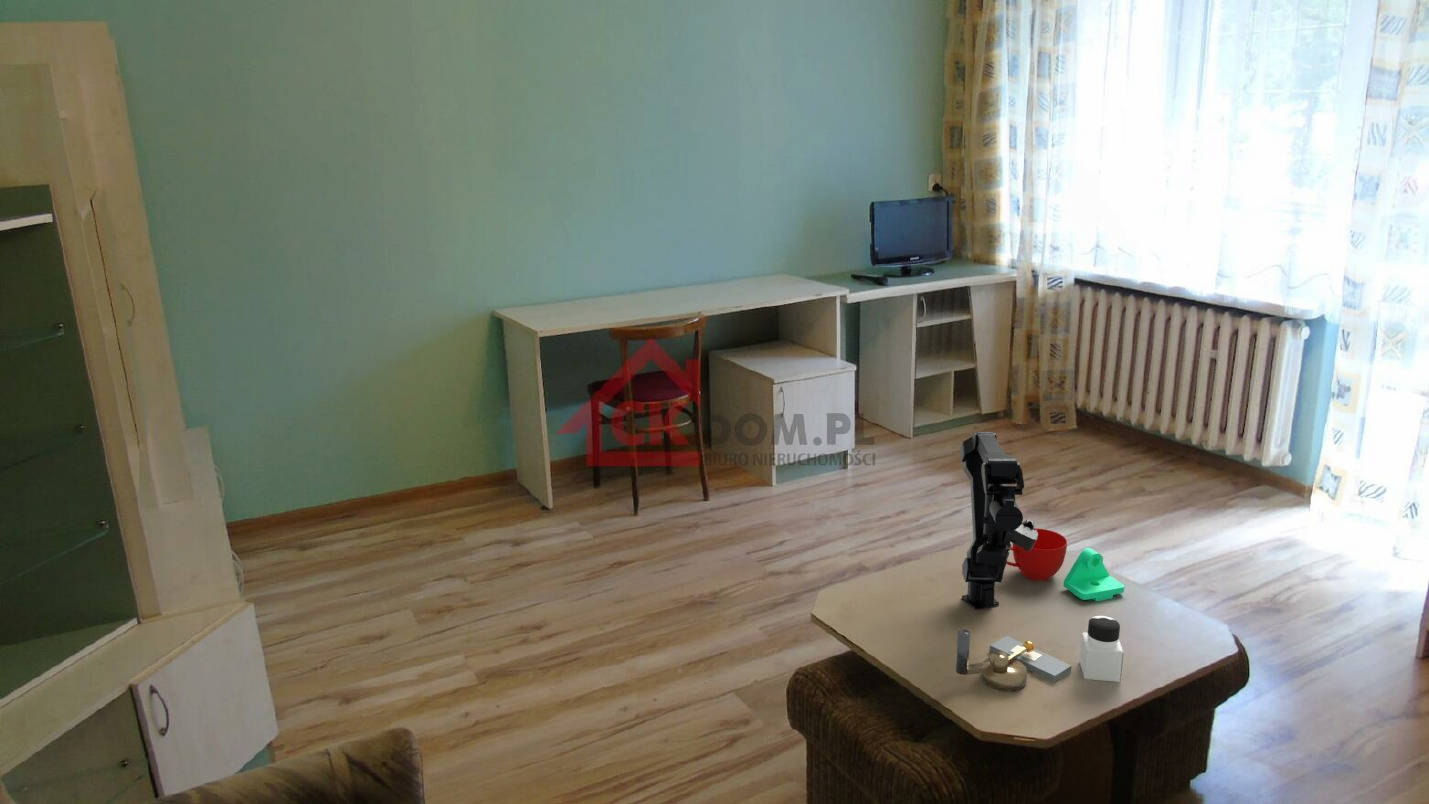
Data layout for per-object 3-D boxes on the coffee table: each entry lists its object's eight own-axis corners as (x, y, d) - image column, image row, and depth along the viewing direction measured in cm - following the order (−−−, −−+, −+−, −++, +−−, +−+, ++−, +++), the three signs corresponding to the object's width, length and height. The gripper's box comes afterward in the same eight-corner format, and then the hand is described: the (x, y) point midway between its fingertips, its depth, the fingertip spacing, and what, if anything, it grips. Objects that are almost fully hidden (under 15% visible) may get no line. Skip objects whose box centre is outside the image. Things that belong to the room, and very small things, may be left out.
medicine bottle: (1120, 682, 204) (1126, 630, 200) (1084, 679, 205) (1089, 627, 201) (1114, 664, 210) (1119, 613, 207) (1079, 661, 212) (1083, 610, 208)
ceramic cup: (986, 569, 254) (988, 533, 251) (1045, 561, 258) (1048, 525, 255) (1012, 592, 242) (1015, 554, 239) (1074, 583, 246) (1078, 546, 243)
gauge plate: (989, 651, 216) (990, 644, 216) (1006, 641, 220) (1006, 635, 219) (1054, 682, 204) (1055, 675, 204) (1071, 671, 208) (1071, 664, 207)
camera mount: (1082, 604, 236) (1086, 565, 233) (1062, 590, 243) (1066, 551, 240) (1125, 596, 239) (1129, 557, 236) (1104, 582, 246) (1108, 544, 243)
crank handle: (1030, 655, 214) (1034, 606, 210) (1056, 685, 203) (1060, 634, 199) (942, 665, 211) (945, 616, 207) (964, 695, 200) (967, 644, 196)
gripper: (1032, 534, 206) (1027, 602, 210) (1040, 501, 222) (1035, 565, 227) (977, 527, 210) (973, 593, 214) (989, 495, 226) (985, 558, 231)
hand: (994, 577), depth 221 cm, fingers closed
